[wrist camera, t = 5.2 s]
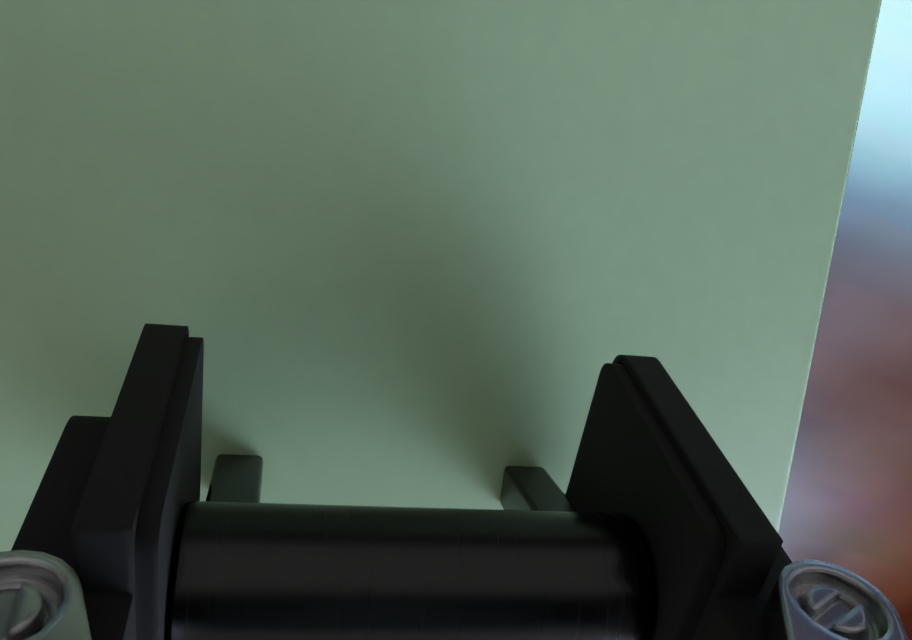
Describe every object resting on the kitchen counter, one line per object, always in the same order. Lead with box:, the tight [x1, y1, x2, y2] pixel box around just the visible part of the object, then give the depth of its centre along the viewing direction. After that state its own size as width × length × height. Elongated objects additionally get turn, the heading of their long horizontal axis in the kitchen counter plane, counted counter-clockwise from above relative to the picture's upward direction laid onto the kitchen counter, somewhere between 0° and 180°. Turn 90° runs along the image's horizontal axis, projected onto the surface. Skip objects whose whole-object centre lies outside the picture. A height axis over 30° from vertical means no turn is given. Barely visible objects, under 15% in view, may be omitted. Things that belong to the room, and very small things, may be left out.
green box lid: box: [0, 0, 882, 640], centre depth 10 cm, size 17×14×5 cm
